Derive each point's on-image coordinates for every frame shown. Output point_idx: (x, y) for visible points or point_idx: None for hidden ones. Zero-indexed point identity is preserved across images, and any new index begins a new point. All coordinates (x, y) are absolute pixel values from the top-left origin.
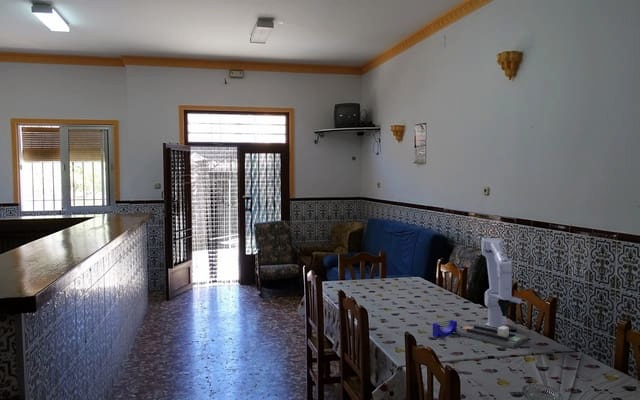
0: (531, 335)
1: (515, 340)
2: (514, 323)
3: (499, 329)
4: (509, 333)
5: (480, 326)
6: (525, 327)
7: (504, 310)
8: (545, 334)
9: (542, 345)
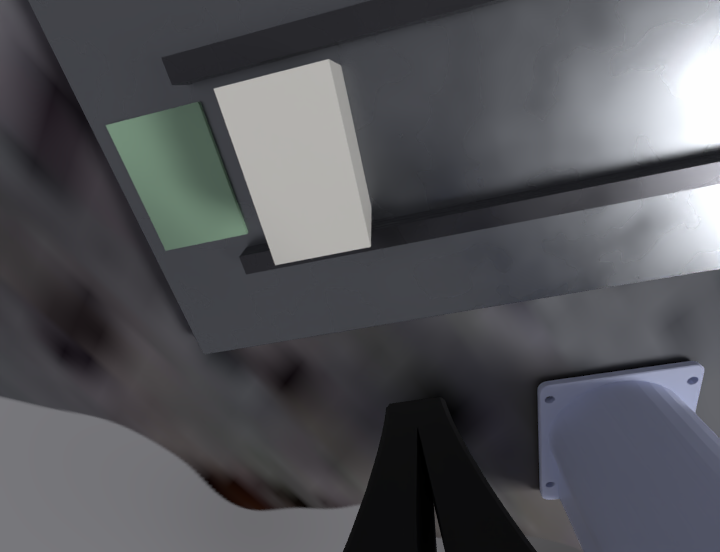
0: (271, 425)
1: (123, 129)
2: None
3: (297, 67)
4: None
5: (702, 182)
6: None
7: (393, 513)
8: (239, 495)
9: (42, 304)
